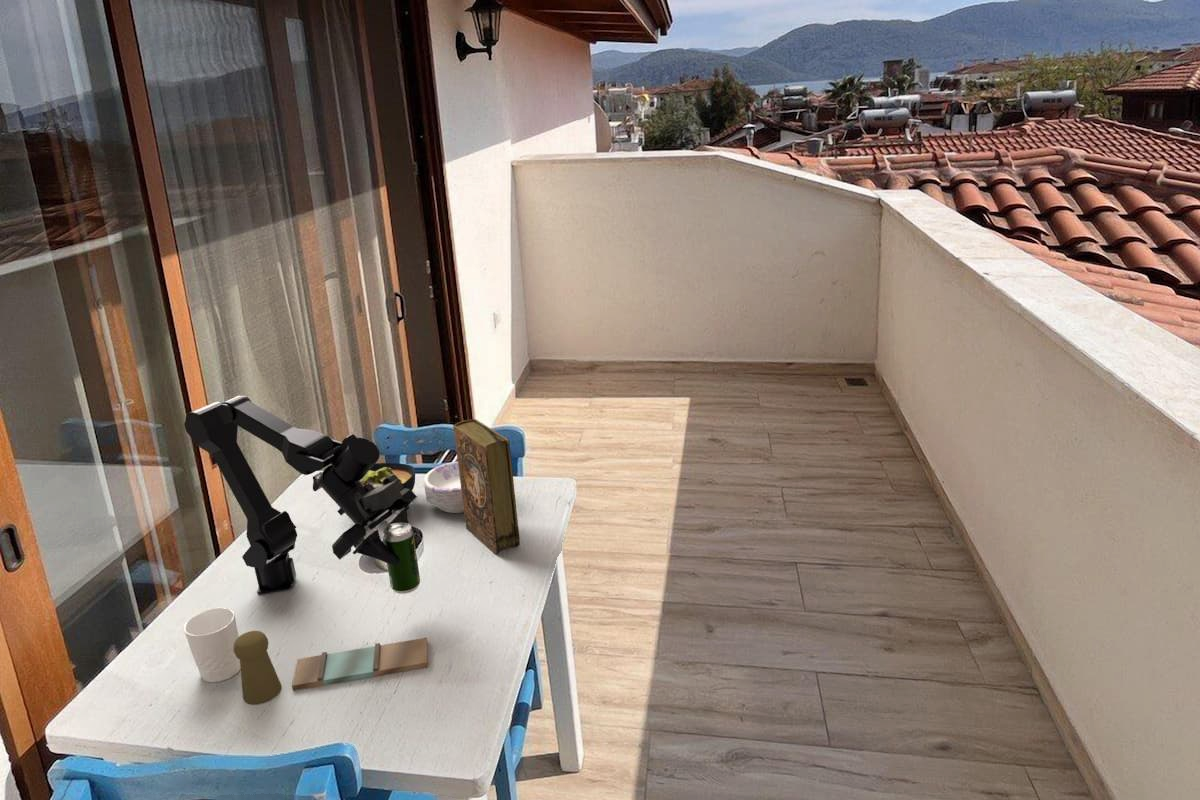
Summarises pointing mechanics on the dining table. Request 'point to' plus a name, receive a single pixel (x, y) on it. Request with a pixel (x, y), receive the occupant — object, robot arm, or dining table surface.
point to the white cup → (214, 643)
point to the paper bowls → (444, 488)
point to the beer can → (402, 558)
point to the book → (487, 485)
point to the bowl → (387, 469)
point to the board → (360, 663)
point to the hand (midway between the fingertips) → (407, 556)
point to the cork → (256, 668)
